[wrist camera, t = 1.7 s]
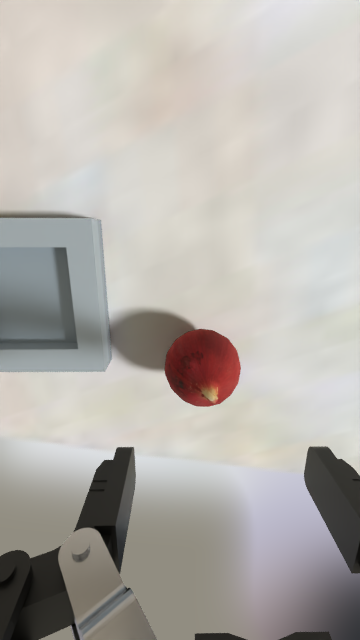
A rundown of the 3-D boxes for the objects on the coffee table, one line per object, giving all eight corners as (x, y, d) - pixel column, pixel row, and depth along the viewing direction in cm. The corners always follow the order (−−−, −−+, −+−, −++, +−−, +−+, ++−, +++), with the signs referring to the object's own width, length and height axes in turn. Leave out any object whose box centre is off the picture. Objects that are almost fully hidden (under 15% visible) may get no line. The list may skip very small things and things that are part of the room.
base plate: (-52, 220, 21) (-81, 217, 19) (100, 220, 22) (91, 218, 19) (-20, 359, 25) (-41, 372, 22) (111, 358, 25) (104, 371, 23)
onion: (164, 373, 25) (159, 432, 18) (169, 315, 24) (166, 351, 16) (225, 378, 26) (246, 438, 18) (235, 321, 24) (261, 359, 16)
